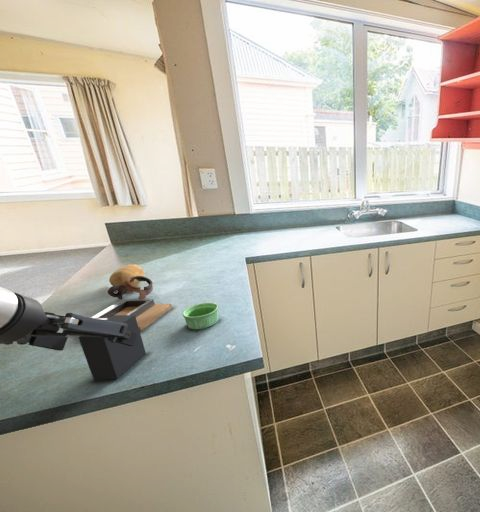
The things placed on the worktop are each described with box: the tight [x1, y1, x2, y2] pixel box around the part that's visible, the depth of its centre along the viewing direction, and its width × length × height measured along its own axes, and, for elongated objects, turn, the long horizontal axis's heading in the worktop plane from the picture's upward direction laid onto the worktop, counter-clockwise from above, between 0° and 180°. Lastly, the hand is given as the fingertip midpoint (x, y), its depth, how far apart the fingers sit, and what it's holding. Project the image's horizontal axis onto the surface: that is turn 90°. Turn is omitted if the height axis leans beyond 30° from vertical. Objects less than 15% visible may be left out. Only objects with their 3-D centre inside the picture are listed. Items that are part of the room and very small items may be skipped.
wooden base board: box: [90, 298, 173, 332], centre depth 89 cm, size 18×14×4 cm
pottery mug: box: [107, 276, 154, 301], centre depth 102 cm, size 12×10×8 cm
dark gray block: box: [77, 315, 147, 381], centre depth 67 cm, size 5×9×11 cm, turn 3°
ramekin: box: [182, 302, 220, 330], centre depth 87 cm, size 9×9×4 cm
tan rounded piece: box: [108, 263, 146, 287], centre depth 111 cm, size 10×14×8 cm
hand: (99, 341), depth 63 cm, fingers open, 13 cm apart
